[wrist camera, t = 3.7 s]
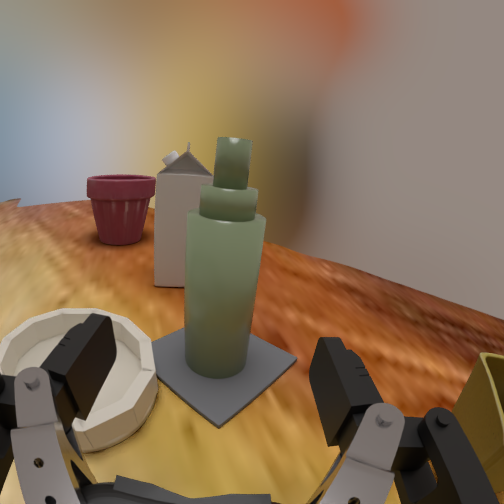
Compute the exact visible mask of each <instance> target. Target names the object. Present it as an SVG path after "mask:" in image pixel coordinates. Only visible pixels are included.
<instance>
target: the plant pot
mask: <svg viewBox="0 0 504 504" xmlns="http://www.w3.org/2000/svg"><path fill="white" fill-rule="evenodd" d="M155 184H156V178H155V177H151V176H143V175H101V176H93V177H89V178H88V179H87V197H88V198H91V203H92V209H93V213H94V218H95V222H96V226H97V230H98V234H99V239H100V241H101V242H103V243H106V244H111V245H127V244H132V243H135V242H138V241H139V240H140V239H141V236H142V231H143V227H144V223H145V219H146V215H147V210H148V206H149V202H150V198H151V197H153V196H154V195H155Z"/></svg>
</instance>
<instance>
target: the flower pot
mask: <svg viewBox="0 0 504 504" xmlns="http://www.w3.org/2000/svg"><path fill="white" fill-rule="evenodd" d="M451 413H453V414H454V416H455V417H456V419H457V420H458V422H459V424H460V426H461V427H462V429H463V431H464V433H465V435H466V436H467V438H468V440H469V442H470V444H471V445H472V447H473V449H474V451H475V453H476V455H477V457H478V459H479V461H480V463H481V465H482V467H483V469H484V471H485V473H486V475H487V477H488V479H489V481H490V484H491V486H492V488H493V490H494V492H495V493H499V492H503V491H504V356H501V355H496V354H491V353H480V355H479V357H478V360H477V362H476V364H475V366H474V368H473V370H472V373H471V375H470V377H469V379H468V381H467V383H466V385H465V387H464V388H463V390H462V392H461V394H460V396H459V398H458V400H457V402H456V404H455V405H454V408H453V410H452V412H451Z"/></svg>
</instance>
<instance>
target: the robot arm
mask: <svg viewBox="0 0 504 504" xmlns="http://www.w3.org/2000/svg"><path fill="white" fill-rule="evenodd" d="M116 356H117V347H116V341H115V336H114V331H113V325H112V320H111V318H110V317H109V316H105V315H100V314H95V313H92V314H90V315H89V317H88V318H87V319H86V320H85V321H84V323H79V324H77V325H76V326H74V327H72V328H71V329H69V331H68V332H67V333H66V334H65V335H64V337H63V338H62V339H61V340H60V341H59V343H58V345H56V346H55V348H54V349H53V350H52V351H51V353H50V354H49V355H48V357H47V358H46V359H45V360H44V362H43V363H42V364H41V366H40V367H29V368H26V369H24V370H22V371H21V372H19V373H18V375H17V376H9V375H2V374H1V373H0V494H1V491H2V488H3V485H4V483H5V480H6V477H7V474H8V472H9V469H10V467H11V464H12V462H13V459H14V460H15V465H16V470H17V474H18V479H19V483H20V487H21V490H22V494H23V497H24V501H25V504H280V503H276V502H271V496H270V494H228V495H221V496H213V497H205V498H187V497H184V496H181V495H178V494H176V493H173V492H170V491H168V490H165V489H163V488H161V487H158V486H156V485H154V484H150V483H146V482H141V481H137V480H133V479H129V478H126V477H122V476H119V475H117V476H116V480H115V483H114V482H105V483H98V482H97V481H96V479H95V477H94V475H93V474H92V472H91V470H90V469H89V467H88V464H87V462H86V459H85V457H84V454H83V451H82V449H81V446H80V443H79V440H78V437H77V434H76V431H75V428H74V425H73V424H72V423H73V421H74V419H75V417H76V418H78V419H81V420H84V421H86V419H87V417H88V415H89V413H90V411H91V409H92V407H93V405H94V402H95V400H96V398H97V396H98V394H99V392H100V390H101V388H102V386H103V384H104V382H105V380H106V378H107V376H108V374H109V372H110V371H111V369H112V367H113V365H114V363H115V360H116ZM309 380H310V384H311V388H312V391H313V395H314V398H315V402H316V405H317V409H318V412H319V416H320V420H321V423H322V427H323V430H324V434H325V438H326V441H327V445H328V447H329V446H337V445H339V448H340V452H339V454H338V455H337V457H336V459H335V461H334V462H333V464H332V466H331V467H330V469H329V471H328V472H327V474H326V476H325V477H324V479H323V480H322V482H321V484H320V485H319V487H318V488H317V490H316V491H315V493H314V494H313V495H312V496H311V498H310V499H309V500H308V502H307V503H306V504H384V503H385V500H386V498H387V495H388V493H389V490H390V488H391V485H392V483H393V480H394V482H395V485H396V488H397V491H398V495H399V498H400V501H401V504H499V502H498V499H497V497H496V495H495V492H494V490H493V488H492V486H491V484H490V481H489V479H488V477H487V475H486V473H485V471H484V469H483V467H482V465H481V463H480V461H479V459H478V457H477V455H476V453H475V451H474V449H473V447H472V445H471V444H470V442H469V440H468V438H467V436H466V435H465V433H464V431H463V429H462V427H461V426H460V424H459V422H458V420H457V419H456V417H455V416H454V414H453V413H451V412H450V411H449V410H447V409H444V408H440V407H436V408H432V409H430V410H429V411H428V412H427V414H426V415H425V416H424V418H419V417H405V416H403V414H402V412H401V411H400V410H399V409H398V408H396V407H395V406H393V405H391V404H387V403H384V402H383V400H382V398H381V396H380V394H379V392H378V390H377V388H376V386H375V384H374V382H373V381H372V379H371V377H370V376H369V373H368V371H367V369H365V366H364V364H363V362H362V360H361V358H360V357H359V356H358V355H357V354H356V353H354V352H353V351H352V350H346V348H345V346H344V344H343V342H342V340H341V339H340V338H339V337H320V338H319V340H318V343H317V346H316V349H315V353H314V356H313V359H312V362H311V366H310V370H309ZM429 460H431V462H432V465H433V467H434V469H435V472H436V474H437V477H438V485H437V483H436V480H435V478H434V475H433V473H432V470H431V468H430V465H429V463H428V461H429Z"/></svg>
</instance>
